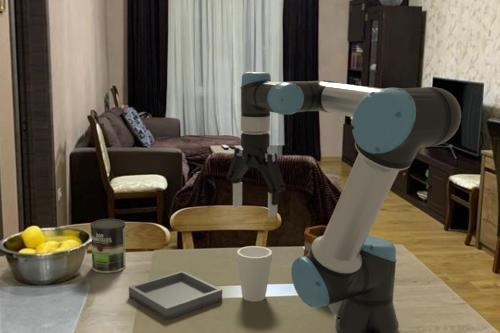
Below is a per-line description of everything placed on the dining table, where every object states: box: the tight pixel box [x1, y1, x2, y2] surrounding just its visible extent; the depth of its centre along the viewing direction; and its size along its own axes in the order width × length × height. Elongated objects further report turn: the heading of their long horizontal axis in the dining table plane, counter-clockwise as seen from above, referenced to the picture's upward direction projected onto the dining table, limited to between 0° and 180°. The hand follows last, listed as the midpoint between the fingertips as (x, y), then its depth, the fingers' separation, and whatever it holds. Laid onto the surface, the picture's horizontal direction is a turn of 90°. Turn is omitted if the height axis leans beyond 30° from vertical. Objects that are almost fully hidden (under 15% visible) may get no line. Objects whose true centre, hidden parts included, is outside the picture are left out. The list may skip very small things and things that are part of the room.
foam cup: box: [236, 245, 273, 303], centre depth 162 cm, size 10×9×13 cm
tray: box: [128, 270, 223, 320], centre depth 161 cm, size 18×18×3 cm
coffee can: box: [90, 218, 127, 274], centre depth 182 cm, size 10×10×14 cm
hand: (254, 211), depth 158 cm, fingers open, 13 cm apart
